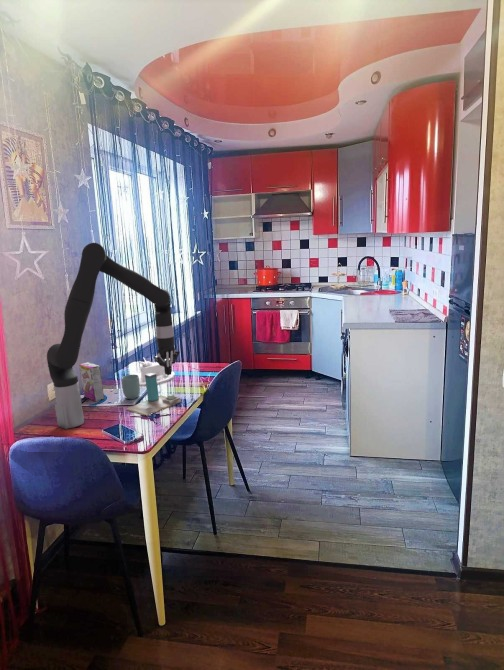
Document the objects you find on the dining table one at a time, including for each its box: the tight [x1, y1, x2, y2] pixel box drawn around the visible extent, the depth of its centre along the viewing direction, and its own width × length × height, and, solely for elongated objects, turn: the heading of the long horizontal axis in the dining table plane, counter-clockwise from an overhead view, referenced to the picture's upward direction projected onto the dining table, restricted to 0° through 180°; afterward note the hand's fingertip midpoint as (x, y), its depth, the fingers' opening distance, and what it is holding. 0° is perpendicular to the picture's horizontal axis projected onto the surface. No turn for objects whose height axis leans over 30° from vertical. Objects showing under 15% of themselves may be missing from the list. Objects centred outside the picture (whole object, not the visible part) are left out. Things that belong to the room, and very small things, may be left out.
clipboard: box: [126, 394, 182, 417], centre depth 205 cm, size 19×14×2 cm
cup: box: [120, 374, 141, 400], centre depth 217 cm, size 8×8×10 cm
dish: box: [132, 356, 176, 387], centre depth 245 cm, size 25×25×11 cm
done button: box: [166, 393, 176, 400], centre depth 207 cm, size 3×3×2 cm
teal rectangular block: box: [145, 373, 159, 402], centre depth 209 cm, size 4×4×12 cm
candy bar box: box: [78, 361, 105, 402], centre depth 219 cm, size 11×5×16 cm, turn 47°
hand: (168, 374), depth 204 cm, fingers closed
